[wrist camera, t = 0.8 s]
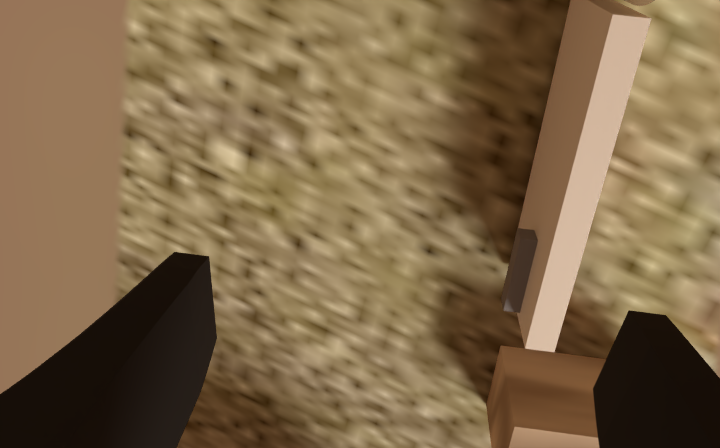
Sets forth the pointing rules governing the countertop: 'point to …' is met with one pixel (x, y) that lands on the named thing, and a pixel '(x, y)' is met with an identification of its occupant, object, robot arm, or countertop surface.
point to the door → (571, 162)
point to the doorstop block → (543, 400)
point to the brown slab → (639, 2)
